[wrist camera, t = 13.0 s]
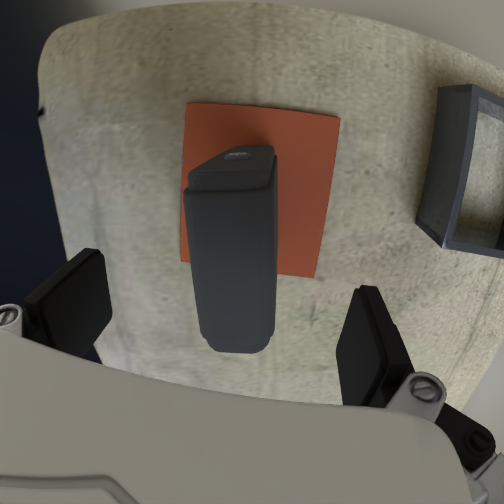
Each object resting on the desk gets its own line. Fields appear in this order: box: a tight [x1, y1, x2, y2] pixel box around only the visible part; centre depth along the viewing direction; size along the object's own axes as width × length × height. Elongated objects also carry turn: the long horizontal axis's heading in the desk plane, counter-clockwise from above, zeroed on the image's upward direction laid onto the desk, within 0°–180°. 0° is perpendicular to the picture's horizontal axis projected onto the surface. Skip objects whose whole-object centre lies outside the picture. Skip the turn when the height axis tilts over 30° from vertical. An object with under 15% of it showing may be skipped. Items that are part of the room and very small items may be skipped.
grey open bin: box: [415, 84, 504, 259], centre depth 21 cm, size 14×13×6 cm
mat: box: [181, 103, 340, 278], centre depth 27 cm, size 15×13×1 cm
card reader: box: [183, 145, 278, 354], centre depth 20 cm, size 9×4×15 cm, turn 2°
